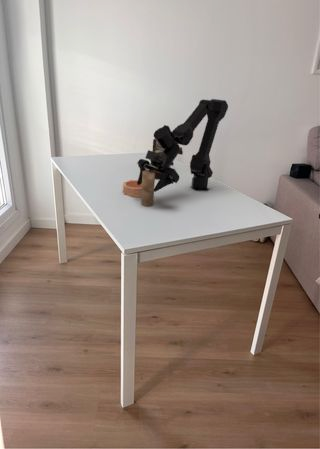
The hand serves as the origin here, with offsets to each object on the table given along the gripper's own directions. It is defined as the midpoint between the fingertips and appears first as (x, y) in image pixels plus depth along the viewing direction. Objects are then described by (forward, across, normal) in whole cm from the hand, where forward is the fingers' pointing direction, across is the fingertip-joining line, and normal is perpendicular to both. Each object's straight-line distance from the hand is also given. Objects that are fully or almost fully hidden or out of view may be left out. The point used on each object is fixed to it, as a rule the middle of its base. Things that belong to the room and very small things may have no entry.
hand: (145, 187), depth 123 cm
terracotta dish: (0, -13, +10) cm, 16 cm away
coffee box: (-25, -32, +35) cm, 54 cm away
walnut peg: (+4, 0, +6) cm, 7 cm away
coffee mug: (-18, -24, +27) cm, 40 cm away
